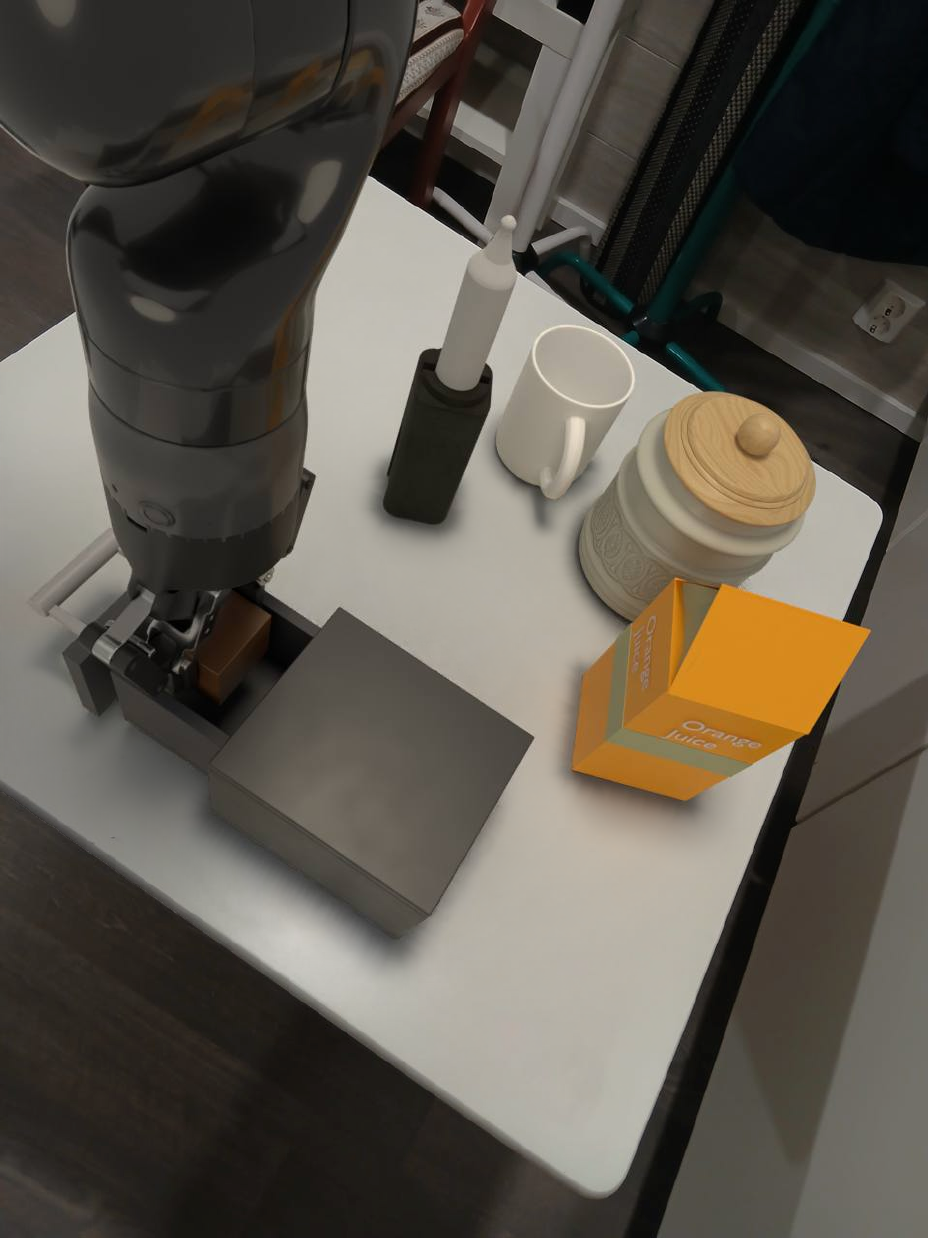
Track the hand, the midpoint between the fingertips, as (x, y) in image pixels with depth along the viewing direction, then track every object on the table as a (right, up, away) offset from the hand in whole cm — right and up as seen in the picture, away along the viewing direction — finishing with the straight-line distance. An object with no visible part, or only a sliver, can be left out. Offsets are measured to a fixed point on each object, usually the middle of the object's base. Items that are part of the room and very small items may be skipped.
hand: (210, 642), depth 46 cm
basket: (-3, -2, +6) cm, 8 cm away
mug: (+20, +14, +23) cm, 34 cm away
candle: (+10, +11, +19) cm, 24 cm away
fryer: (+7, -10, +7) cm, 14 cm away
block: (0, -1, +2) cm, 2 cm away
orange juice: (+26, -7, +14) cm, 31 cm away
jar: (+29, +6, +22) cm, 37 cm away
